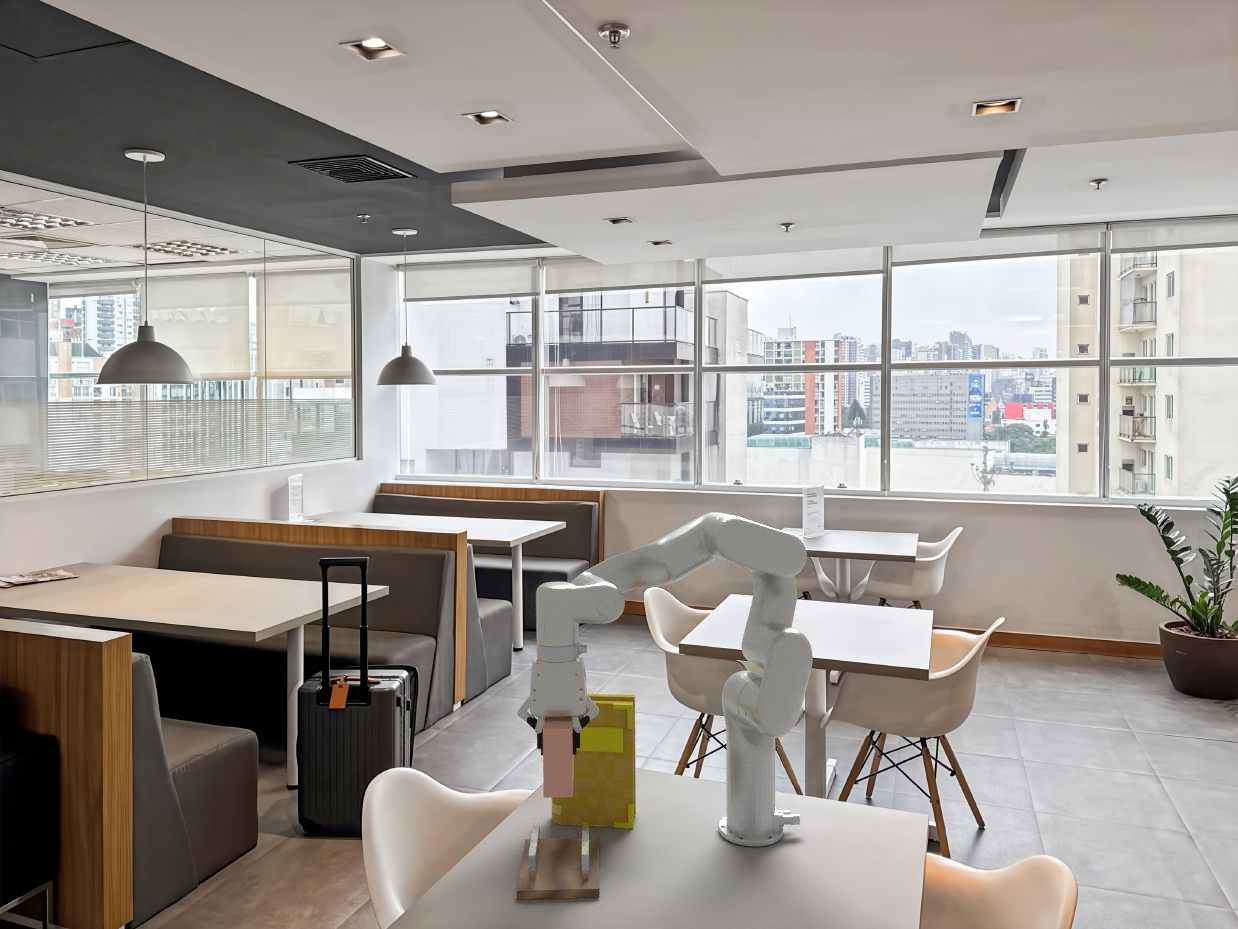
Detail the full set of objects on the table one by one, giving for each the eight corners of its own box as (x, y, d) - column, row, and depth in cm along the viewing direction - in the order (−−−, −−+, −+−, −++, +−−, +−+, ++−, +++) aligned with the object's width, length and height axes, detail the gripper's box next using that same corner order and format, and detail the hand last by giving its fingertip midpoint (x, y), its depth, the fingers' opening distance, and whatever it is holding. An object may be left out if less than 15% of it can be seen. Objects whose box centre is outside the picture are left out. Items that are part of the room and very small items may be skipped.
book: (636, 813, 177) (635, 694, 176) (633, 828, 171) (632, 704, 170) (555, 810, 179) (553, 692, 178) (549, 825, 172) (548, 702, 171)
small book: (573, 771, 160) (573, 707, 159) (572, 797, 149) (571, 728, 148) (546, 771, 159) (546, 708, 159) (543, 797, 148) (542, 729, 148)
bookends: (589, 845, 161) (588, 822, 161) (588, 879, 149) (588, 854, 149) (533, 846, 161) (533, 823, 160) (528, 881, 149) (528, 855, 148)
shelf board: (598, 845, 164) (598, 837, 164) (599, 897, 146) (599, 888, 146) (525, 847, 164) (525, 839, 163) (516, 899, 146) (516, 890, 145)
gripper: (605, 646, 157) (606, 743, 158) (511, 647, 156) (513, 745, 157) (605, 657, 149) (606, 759, 150) (507, 658, 149) (509, 761, 150)
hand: (558, 751), depth 154 cm, fingers closed on small book, 5 cm apart
